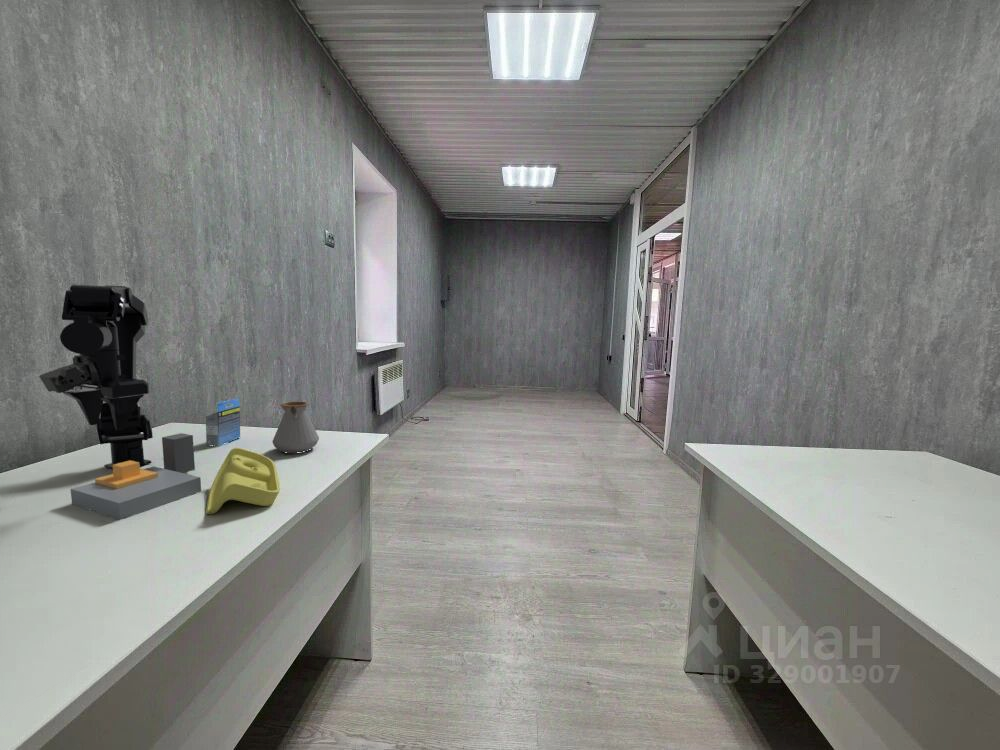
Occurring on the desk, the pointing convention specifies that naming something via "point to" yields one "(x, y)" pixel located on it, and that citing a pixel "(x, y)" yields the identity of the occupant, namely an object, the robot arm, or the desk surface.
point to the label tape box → (223, 423)
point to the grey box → (178, 453)
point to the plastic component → (244, 480)
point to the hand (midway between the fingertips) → (106, 427)
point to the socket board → (136, 493)
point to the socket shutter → (126, 475)
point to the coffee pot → (295, 429)
